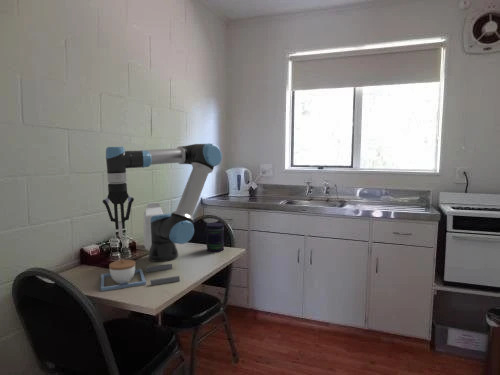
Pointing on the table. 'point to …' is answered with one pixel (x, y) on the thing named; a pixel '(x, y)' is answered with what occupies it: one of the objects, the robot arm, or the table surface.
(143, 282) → the frame
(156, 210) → the milk
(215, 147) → the robot arm
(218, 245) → the storage jar
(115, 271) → the lidded jar
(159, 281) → the charcoal rails
